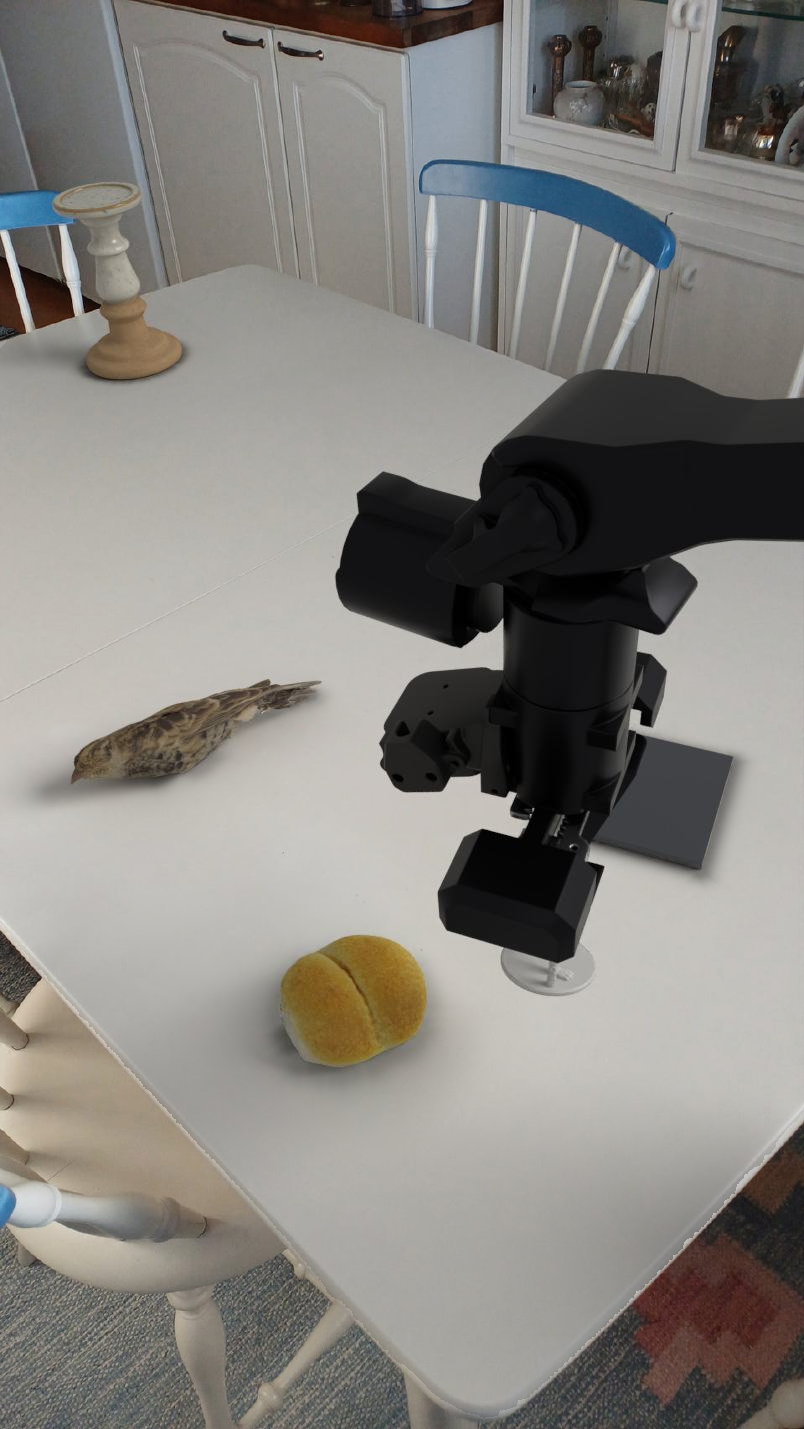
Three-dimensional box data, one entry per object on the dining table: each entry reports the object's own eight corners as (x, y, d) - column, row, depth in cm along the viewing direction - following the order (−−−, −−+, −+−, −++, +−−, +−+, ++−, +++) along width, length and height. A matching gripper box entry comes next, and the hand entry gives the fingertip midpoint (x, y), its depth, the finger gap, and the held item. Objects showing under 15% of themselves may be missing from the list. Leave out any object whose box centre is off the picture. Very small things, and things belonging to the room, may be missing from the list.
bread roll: (450, 1027, 65) (448, 990, 63) (316, 1094, 63) (307, 1058, 60) (389, 929, 71) (384, 892, 68) (263, 987, 68) (253, 951, 66)
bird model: (81, 807, 76) (53, 745, 77) (86, 822, 82) (60, 764, 83) (341, 695, 83) (313, 639, 84) (329, 716, 89) (302, 664, 89)
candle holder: (185, 372, 136) (150, 204, 123) (87, 387, 135) (41, 218, 121) (179, 333, 145) (146, 173, 132) (87, 347, 144) (44, 186, 130)
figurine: (596, 1001, 57) (625, 806, 52) (497, 989, 57) (515, 795, 52) (595, 940, 61) (620, 755, 56) (503, 929, 62) (520, 745, 57)
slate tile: (732, 761, 80) (734, 756, 80) (701, 869, 73) (702, 864, 73) (589, 727, 84) (589, 722, 84) (545, 827, 77) (545, 821, 76)
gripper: (467, 527, 56) (473, 742, 66) (310, 770, 44) (348, 987, 54) (683, 563, 52) (653, 784, 63) (579, 839, 40) (564, 1057, 50)
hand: (556, 890), depth 58 cm, fingers closed on figurine, 5 cm apart
